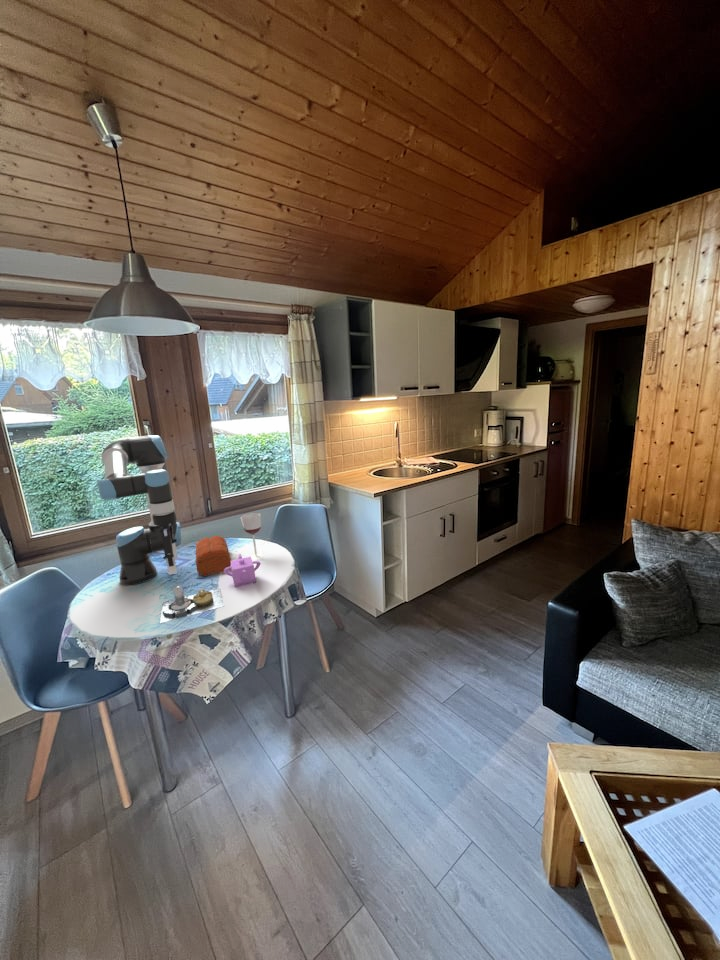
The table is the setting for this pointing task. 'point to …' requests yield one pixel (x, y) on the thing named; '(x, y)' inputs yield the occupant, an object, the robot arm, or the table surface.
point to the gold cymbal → (203, 598)
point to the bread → (212, 556)
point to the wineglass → (252, 530)
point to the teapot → (243, 571)
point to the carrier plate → (190, 607)
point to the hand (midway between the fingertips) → (173, 566)
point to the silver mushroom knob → (179, 599)
